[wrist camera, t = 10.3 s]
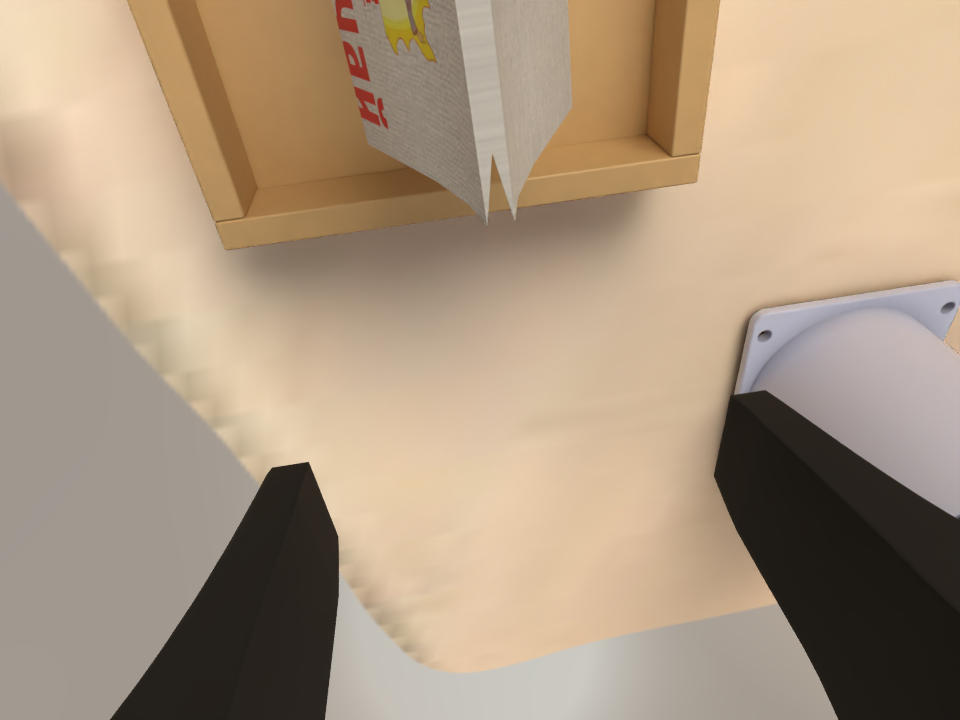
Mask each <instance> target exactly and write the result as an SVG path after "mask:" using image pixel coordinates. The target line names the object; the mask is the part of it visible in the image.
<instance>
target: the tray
mask: <svg viewBox="0 0 960 720" xmlns="http://www.w3.org/2000/svg"><path fill="white" fill-rule="evenodd" d="M127 2H128V5H129V7H130V10H131V12H132V15H133V17H134V20H135V22H136V25H137V27H138V30H139V32H140V35H141V37H142V40H143V43H144V45H145V48H146V50H147V53H148V55H149V58H150V60H151V63H152V65H153V68H154V70H155V73H156V76H157V78H158V81H159V83H160V86H161V88H162V91H163V93H164V96H165V98H166V101H167V103H168V106H169V108H170V111H171V114H172V116H173V119H174V121H175V124H176V126H177V129H178V131H179V134H180V136H181V139H182V141H183V144H184V146H185V149H186V152H187V154H188V157H189V159H190V162H191V164H192V167H193V169H194V172H195V174H196V177H197V179H198V182H199V184H200V187H201V190H202V192H203V195H204V197H205V200H206V202H207V205H208V207H209V210H210V212H211V215H212V217H213V220H214V221H216V222H215V225H216V228H217V230H218V233H219V235H220V238H221V240H222V243H223V246H224V248H225V250H232V249H239V248H246V247H253V246H260V245H267V244H274V243H281V242H288V241H295V240H302V239H308V238H315V237H322V236H329V235H336V234H343V233H350V232H357V231H364V230H371V229H378V228H385V227H392V226H399V225H405V224H412V223H419V222H426V221H433V220H440V219H447V218H454V217H461V216H468V215H475V214H476V213H475V212H474V211H473V209H472V208H471V207H470V206H469V205H468V204H466V203H465V202H464V201H462V200H461V199H460V198H458V197H457V196H456V195H454V194H453V193H451V192H450V191H449V190H447V189H446V188H445V187H443V186H442V185H441V184H439V183H438V182H436V181H435V180H433V179H431V178H429V177H427V176H425V175H424V174H422V173H420V172H418V171H416V170H414V169H413V168H411V167H409V166H407V165H405V164H403V163H402V162H400V161H398V160H396V159H394V158H392V157H391V156H389V155H387V154H385V153H383V152H381V151H380V150H378V149H376V148H374V147H372V146H370V145H369V144H368V142H367V138H366V134H365V130H364V126H363V122H362V118H361V114H360V110H359V106H358V102H357V98H356V94H355V90H354V86H353V82H352V78H351V74H350V70H349V66H348V62H347V58H346V54H345V50H344V46H343V42H342V38H341V34H340V30H339V26H338V22H337V18H336V14H335V10H334V6H333V2H332V0H127ZM719 5H720V0H568V16H569V39H570V62H571V85H572V109H571V110H570V111H569V113H568V114H567V116H566V117H565V119H564V120H563V122H562V123H561V125H560V126H559V128H558V129H557V131H556V132H555V134H554V135H553V137H552V138H551V140H550V141H549V143H548V144H547V145H546V147H545V148H544V150H543V151H542V153H541V154H540V156H539V157H538V159H537V160H536V162H535V163H534V165H533V167H532V169H531V171H530V173H529V175H528V177H527V180H526V182H525V184H524V186H523V188H522V190H521V192H520V194H519V196H518V203H517V208H523V207H530V206H537V205H544V204H551V203H558V202H565V201H572V200H579V199H586V198H593V197H600V196H606V195H613V194H620V193H627V192H634V191H641V190H648V189H655V188H662V187H669V186H676V185H683V184H690V183H696V182H697V178H698V170H699V162H700V152H701V148H702V140H703V132H704V124H705V116H706V108H707V100H708V92H709V84H710V76H711V68H712V60H713V52H714V44H715V37H716V29H717V21H718V13H719ZM509 209H511V208H510V206H509V203H508V200H507V197H506V194H505V191H504V188H503V185H502V182H501V179H500V176H499V173H498V170H497V167H496V164H495V161H494V158H493V155H492V161H491V177H490V193H489V209H488V213H489V212H496V211H502V210H509Z"/></svg>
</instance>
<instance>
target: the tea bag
mask: <svg viewBox="0 0 960 720" xmlns="http://www.w3.org/2000/svg"><path fill="white" fill-rule="evenodd" d="M332 2H333V6H334V10H335V14H336V18H337V22H338V26H339V30H340V34H341V38H342V42H343V46H344V50H345V54H346V58H347V62H348V66H349V70H350V74H351V78H352V82H353V86H354V90H355V94H356V98H357V102H358V106H359V110H360V114H361V118H362V122H363V126H364V130H365V134H366V138H367V142H368V144H369V145H370V146H372V147H374V148H376V149H378V150H380V151H381V152H383V153H385V154H387V155H389V156H391V157H392V158H394V159H396V160H398V161H400V162H402V163H403V164H405V165H407V166H409V167H411V168H413V169H414V170H416V171H418V172H420V173H422V174H424V175H425V176H427V177H429V178H431V179H433V180H435V181H436V182H438V183H439V184H441V185H442V186H443V187H445V188H446V189H447V190H449V191H450V192H451V193H453V194H454V195H456V196H457V197H458V198H460V199H461V200H462V201H464V202H465V203H466V204H468V205H469V206H470V207H471V208H472V209H473V211H474V212H475V213H476V214H477V215H478V217H479V218H480V219H481V220H482V221H483V223H484V224H485V225H486V226H487V225H488V209H489V193H490V177H491V161H492V155H493V158H494V161H495V164H496V167H497V170H498V173H499V176H500V179H501V182H502V185H503V188H504V191H505V194H506V197H507V200H508V203H509V206H510V208H511V211H512V214H513V217H514V220H515V219H516V211H517V203H518V196H519V194H520V192H521V190H522V188H523V186H524V184H525V182H526V180H527V177H528V175H529V173H530V171H531V169H532V167H533V165H534V163H535V162H536V160H537V159H538V157H539V156H540V154H541V153H542V151H543V150H544V148H545V147H546V145H547V144H548V143H549V141H550V140H551V138H552V137H553V135H554V134H555V132H556V131H557V129H558V128H559V126H560V125H561V123H562V122H563V120H564V119H565V117H566V116H567V114H568V113H569V111H570V110H571V109H572V85H571V62H570V39H569V16H568V0H332Z"/></svg>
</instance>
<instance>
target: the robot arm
mask: <svg viewBox="0 0 960 720" xmlns="http://www.w3.org/2000/svg"><path fill="white" fill-rule="evenodd" d="M959 306H960V282H958V281H956V280H948V281H941V282H935V283H928V284H922V285H915V286H909V287H902V288H895V289H889V290H882V291H876V292H869V293H863V294H856V295H850V296H843V297H837V298H830V299H823V300H817V301H810V302H804V303H797V304H791V305H784V306H778V307H771V308H765V309H762V310H759V311H758V312H756V313H755V314H754V315H753V316H752V317H751V319H750V321H749V326H748V330H747V335H746V340H745V345H744V349H743V354H742V359H741V364H740V368H739V373H738V378H737V382H736V387H735V392H734V395H731V396H730V401H729V406H728V410H727V415H726V420H725V425H724V430H723V435H722V440H721V444H720V449H719V454H718V459H717V464H716V469H715V474H714V477H715V480H716V482H717V485H718V487H719V490H720V492H721V495H722V497H723V500H724V502H725V505H726V507H727V510H728V512H729V514H730V516H731V519H732V521H733V523H734V526H735V528H736V530H737V532H738V534H739V536H740V537H741V539H742V541H743V543H744V545H745V546H746V548H747V550H748V552H749V553H750V555H751V557H752V559H753V561H754V562H755V564H756V566H757V568H758V569H759V571H760V573H761V575H762V576H763V578H764V580H765V582H766V583H767V585H768V587H769V589H770V590H771V592H772V594H773V596H774V597H775V599H776V601H777V602H778V604H779V606H780V607H781V609H782V611H783V613H784V615H785V616H786V618H787V620H788V622H789V623H790V625H791V627H792V629H793V630H794V632H795V634H796V635H797V637H798V639H799V641H800V642H801V644H802V646H803V648H804V649H805V651H806V653H807V655H808V657H809V659H810V661H811V663H812V665H813V667H814V669H815V670H816V672H817V674H818V676H819V678H820V680H821V683H822V685H823V687H824V689H825V691H826V693H827V696H828V698H829V700H830V702H831V704H832V706H833V709H834V711H835V713H836V715H837V717H838V720H960V355H959V354H958V353H957V352H956V351H955V350H953V349H952V348H951V347H950V346H948V345H947V344H946V343H945V342H943V341H944V339H945V337H946V334H947V332H948V330H949V328H950V326H951V323H952V321H953V319H954V317H955V315H956V313H957V310H958V308H959ZM763 331H765V332H764V333H763V334H762V335H759V334H760V333H761V332H763ZM338 597H339V544H338V535H337V532H336V530H335V527H334V525H333V522H332V520H331V517H330V515H329V512H328V509H327V507H326V504H325V502H324V499H323V497H322V494H321V492H320V489H319V487H318V484H317V482H316V479H315V477H314V474H313V472H312V469H311V466H310V464H309V462H306V463H299V464H293V465H287V466H280V467H274V468H272V469H271V470H270V471H269V472H268V474H267V475H266V477H265V479H264V481H263V483H262V485H261V487H260V488H259V490H258V492H257V494H256V496H255V498H254V500H253V501H252V503H251V505H250V507H249V509H248V511H247V512H246V514H245V516H244V518H243V519H242V521H241V523H240V525H239V527H238V528H237V530H236V532H235V534H234V536H233V537H232V539H231V541H230V542H229V544H228V546H227V548H226V549H225V551H224V553H223V554H222V556H221V558H220V559H219V561H218V562H217V564H216V566H215V568H214V569H213V571H212V573H211V574H210V576H209V577H208V579H207V581H206V582H205V584H204V586H203V587H202V589H201V591H200V592H199V594H198V595H197V597H196V599H195V600H194V602H193V603H192V605H191V606H190V608H189V609H188V611H187V612H186V614H185V615H184V617H183V618H182V620H181V621H180V623H179V624H178V626H177V627H176V629H175V630H174V632H173V633H172V635H171V636H170V638H169V639H168V641H167V642H166V644H165V645H164V647H163V648H162V650H161V651H160V653H159V654H158V655H157V657H156V658H155V660H154V661H153V663H152V664H151V665H150V667H149V668H148V670H147V671H146V672H145V674H144V675H143V677H142V678H141V679H140V681H139V682H138V683H137V685H136V686H135V688H134V689H133V690H132V691H131V693H130V694H129V695H128V697H127V698H126V699H125V701H124V702H123V703H122V705H121V706H120V707H119V709H118V710H117V711H116V713H115V714H114V715H113V716H112V718H111V719H110V720H325V712H326V705H327V696H328V687H329V678H330V670H331V661H332V652H333V643H334V634H335V625H336V616H337V606H338Z"/></svg>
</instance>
